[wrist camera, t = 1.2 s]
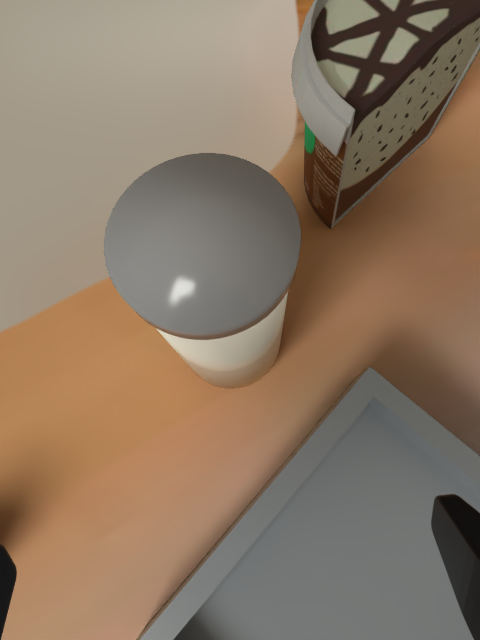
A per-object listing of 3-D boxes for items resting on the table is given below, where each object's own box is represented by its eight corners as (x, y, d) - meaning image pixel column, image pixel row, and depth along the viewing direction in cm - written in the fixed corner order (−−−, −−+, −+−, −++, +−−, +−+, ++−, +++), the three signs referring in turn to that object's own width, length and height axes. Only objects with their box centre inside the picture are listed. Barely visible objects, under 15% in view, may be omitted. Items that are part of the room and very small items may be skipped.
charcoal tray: (367, 895, 17) (389, 987, 14) (144, 628, 20) (123, 658, 17) (580, 562, 20) (634, 582, 17) (356, 377, 23) (369, 366, 20)
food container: (371, 74, 29) (425, -112, 19) (444, 123, 27) (541, -52, 18) (243, 184, 27) (231, 36, 17) (314, 244, 25) (344, 119, 16)
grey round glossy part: (234, 413, 22) (203, 374, 11) (159, 343, 24) (64, 244, 12) (303, 335, 24) (342, 226, 12) (228, 273, 25) (199, 122, 14)
